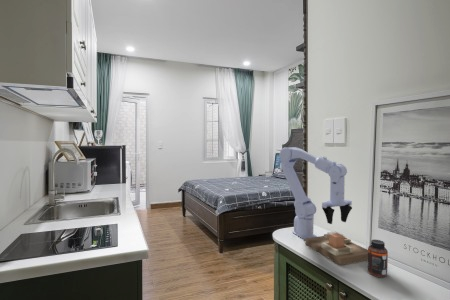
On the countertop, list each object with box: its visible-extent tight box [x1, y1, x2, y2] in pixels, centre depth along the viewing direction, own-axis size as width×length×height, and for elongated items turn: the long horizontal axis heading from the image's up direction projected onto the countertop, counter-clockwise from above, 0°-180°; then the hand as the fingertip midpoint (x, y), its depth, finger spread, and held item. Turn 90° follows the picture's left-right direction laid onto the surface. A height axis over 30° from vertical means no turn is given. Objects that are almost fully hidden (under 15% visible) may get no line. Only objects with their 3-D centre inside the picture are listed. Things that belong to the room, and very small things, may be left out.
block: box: [326, 231, 343, 240], centre depth 114 cm, size 4×4×3 cm
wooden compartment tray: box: [305, 233, 368, 266], centre depth 110 cm, size 21×16×4 cm
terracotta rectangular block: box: [329, 232, 345, 249], centre depth 105 cm, size 4×4×6 cm
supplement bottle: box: [367, 239, 389, 278], centre depth 91 cm, size 6×6×11 cm
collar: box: [322, 242, 353, 256], centre depth 104 cm, size 8×8×2 cm
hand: (336, 222), depth 116 cm, fingers open, 7 cm apart
